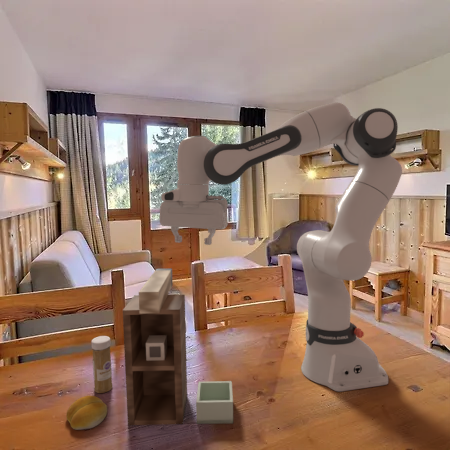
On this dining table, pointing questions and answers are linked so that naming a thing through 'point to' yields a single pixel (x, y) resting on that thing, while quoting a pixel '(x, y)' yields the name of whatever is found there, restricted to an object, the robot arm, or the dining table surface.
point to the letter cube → (156, 347)
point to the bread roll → (86, 412)
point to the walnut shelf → (155, 364)
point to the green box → (214, 402)
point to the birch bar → (155, 291)
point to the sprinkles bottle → (102, 364)
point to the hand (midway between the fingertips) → (193, 243)
